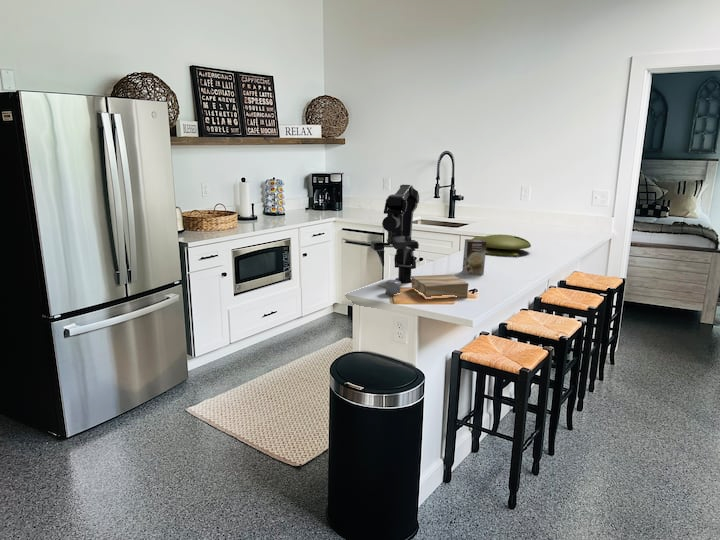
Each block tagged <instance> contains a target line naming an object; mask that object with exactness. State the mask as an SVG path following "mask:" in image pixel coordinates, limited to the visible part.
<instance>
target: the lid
mask: <svg viewBox="0 0 720 540" xmlns="http://www.w3.org/2000/svg"><path fill="white" fill-rule="evenodd" d="M412 278H413V279H414V280H416V281H417V282H419V283H420V284H422V285H423V286H425V287H442V286H461V285H468V286H469V282H466V281H464V280H462V279H461V278H459V277H457V276H455V275H454V274H452V273H451V274H450V273H449V274H432V275H411V279H412Z"/></svg>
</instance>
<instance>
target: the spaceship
mask: <svg viewBox="0 0 720 540" xmlns="http://www.w3.org/2000/svg"><path fill="white" fill-rule="evenodd" d="M472 239H473V240H484V241H486V253H485V256H494V255H496V256H497V257H507V256H513V257H512V258H518V257H517V256H520V254H519V253H518V252H514V251H513V252H511V251H510V252H509V251H499V250H498V251H497V250H488V249H490V248H491V249H503V250H525V249H530V248H531V246H532V245H531V242H530V241H528V240H527V239H526V238H522V237H521V236H515V235H510V234H490V235H489V234H488V235H485V236H484V235H482V236H481V235H477V236H475V237H473V238H472Z"/></svg>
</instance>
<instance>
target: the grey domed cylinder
mask: <svg viewBox="0 0 720 540" xmlns="http://www.w3.org/2000/svg"><path fill="white" fill-rule="evenodd" d="M401 285H402V283H401V282H400V281H398V280H396V279H388V280H386V281H385V295H387V296H390V297H392V295H394V294H397V293H400V294H401V287H402V286H401Z"/></svg>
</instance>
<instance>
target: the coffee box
mask: <svg viewBox="0 0 720 540" xmlns="http://www.w3.org/2000/svg"><path fill="white" fill-rule="evenodd" d="M486 250H487V249H486V241H484V240H473V238H471V239H468V238H467V239H466V238H465V239H464V249H463V259H462V273H463V274H465V275H475V276H476V275H477V276H478V275H480V276H481V275H484V274H485V262H486V255H485V253H486Z"/></svg>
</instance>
